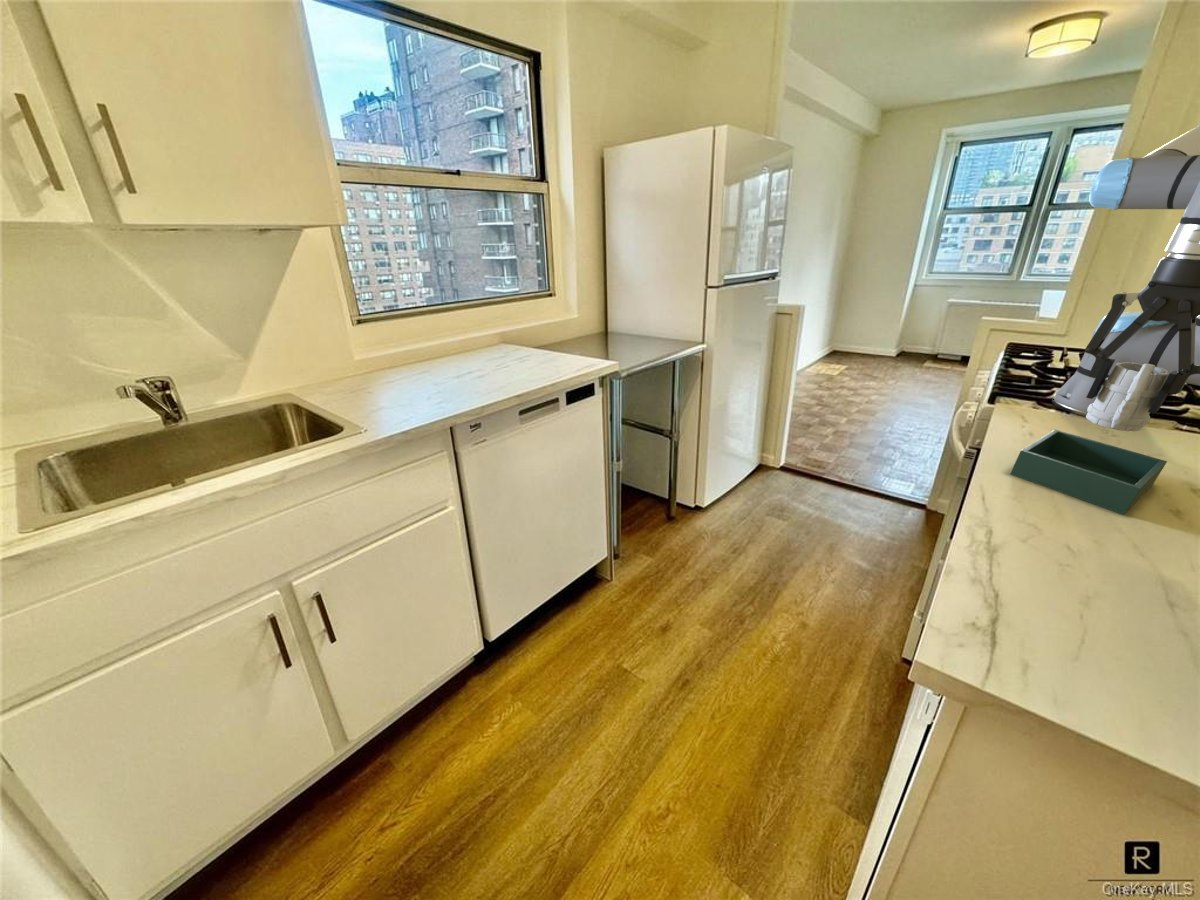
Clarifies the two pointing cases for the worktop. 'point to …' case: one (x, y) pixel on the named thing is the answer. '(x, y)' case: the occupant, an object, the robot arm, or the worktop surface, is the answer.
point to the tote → (1088, 470)
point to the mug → (1127, 396)
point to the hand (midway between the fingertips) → (1121, 403)
